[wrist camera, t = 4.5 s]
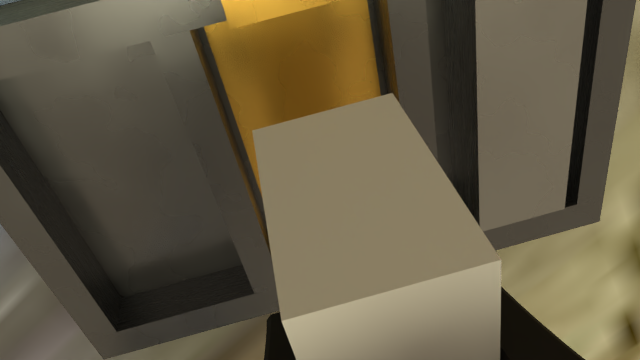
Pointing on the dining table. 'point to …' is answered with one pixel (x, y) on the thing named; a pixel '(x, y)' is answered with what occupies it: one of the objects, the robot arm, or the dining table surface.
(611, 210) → the dining table surface
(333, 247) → the tall cream block
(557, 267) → the dining table surface
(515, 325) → the robot arm
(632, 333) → the dining table surface
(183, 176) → the rack
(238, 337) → the dining table surface
